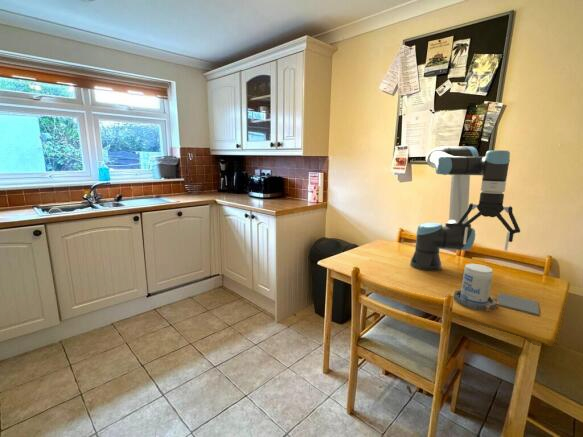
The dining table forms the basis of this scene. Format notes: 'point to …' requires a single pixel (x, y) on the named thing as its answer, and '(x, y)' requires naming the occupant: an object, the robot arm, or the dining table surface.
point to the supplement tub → (476, 284)
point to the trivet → (518, 303)
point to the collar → (475, 306)
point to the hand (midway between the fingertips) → (484, 246)
